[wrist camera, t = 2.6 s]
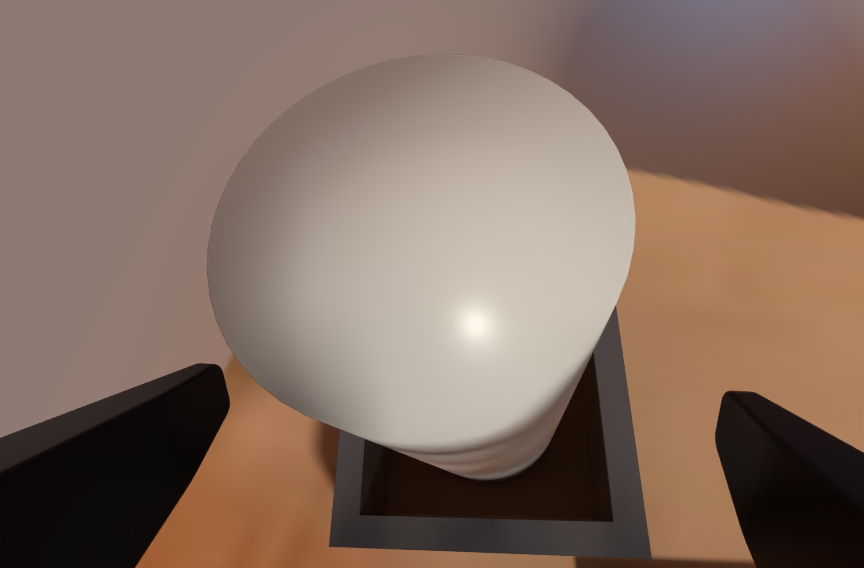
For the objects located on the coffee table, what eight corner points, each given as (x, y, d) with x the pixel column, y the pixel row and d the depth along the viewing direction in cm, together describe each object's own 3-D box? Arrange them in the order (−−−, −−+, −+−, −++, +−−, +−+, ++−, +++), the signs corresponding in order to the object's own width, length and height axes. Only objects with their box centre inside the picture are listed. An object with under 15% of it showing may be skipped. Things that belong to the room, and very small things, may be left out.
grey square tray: (628, 548, 15) (651, 559, 12) (361, 538, 16) (328, 546, 13) (595, 292, 18) (609, 256, 15) (377, 302, 20) (354, 270, 17)
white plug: (561, 483, 16) (675, 435, 4) (416, 481, 17) (163, 435, 5) (550, 340, 18) (604, 32, 6) (420, 344, 19) (246, 77, 7)
